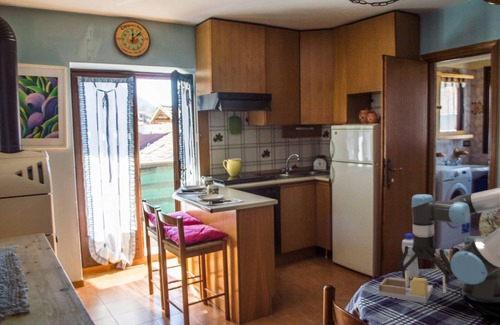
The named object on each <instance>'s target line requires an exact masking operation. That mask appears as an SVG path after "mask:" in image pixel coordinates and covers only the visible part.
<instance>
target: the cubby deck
mask: <svg viewBox="0 0 500 325" xmlns="http://www.w3.org/2000/svg"><path fill="white" fill-rule="evenodd" d="M427 286H428V292H427V294H426V295H425V296H422V295H415V294H411V281H410V280H409V286H408V287H406V286H405V280H398V279H390V278H389V277H384V278H383V280H382V281H381V282H380V283H379V284H378V290H377V294H378V295H382V296H381V297H383V296H388V297H387V298H389V297H392V298H391V299H395V298H397V299H396V300H403V301H410V302H415V303H422V304H427V302H428V301H429V299H430V297H431V295H432V293H433V291H434V286H433V285H430V284H427ZM378 295H377V296H378Z"/></svg>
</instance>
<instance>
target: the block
mask: <svg viewBox="0 0 500 325" xmlns="http://www.w3.org/2000/svg"><path fill="white" fill-rule="evenodd" d="M410 280H411V281H410V283H411V294H415V295H422V296H425V295H426V294H427V292H428V286H427V285H428V278H422V277H418V278H415V277H412V279H410Z"/></svg>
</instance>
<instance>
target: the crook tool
mask: <svg viewBox="0 0 500 325" xmlns="http://www.w3.org/2000/svg"><path fill="white" fill-rule="evenodd" d="M388 278H390V279H398V280H405V278H401V277H400V278H399V277H398V278H397V277H391V276H390V277H388Z"/></svg>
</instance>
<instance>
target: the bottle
mask: <svg viewBox="0 0 500 325" xmlns="http://www.w3.org/2000/svg"><path fill="white" fill-rule="evenodd" d="M413 235H414V234H413V233H409V232H408V233H405V234H404V239H402V241H401V249H402V250H401V251H402V255H403V254H404V252H405V246H406V245H409V246H412V247H413ZM414 255H415V253H414V252H413V250H411V251H410V252H408V254H407V256H406V258H405V260H404V262H403V265H405V264H406V263H407V262H408V261H409V260H410V259H411V258H412V257H413V256H414ZM418 259H419V258H418V257H417V258H416V259H415V260H414V261H413V262H412V263H411V264H410V265H409V266H408V267H407V268H406V269H409V280H412V279H413V278H414V277H415V278H419V277H420V273H419V272H420V270H419V262H418V261H419V260H418Z"/></svg>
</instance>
